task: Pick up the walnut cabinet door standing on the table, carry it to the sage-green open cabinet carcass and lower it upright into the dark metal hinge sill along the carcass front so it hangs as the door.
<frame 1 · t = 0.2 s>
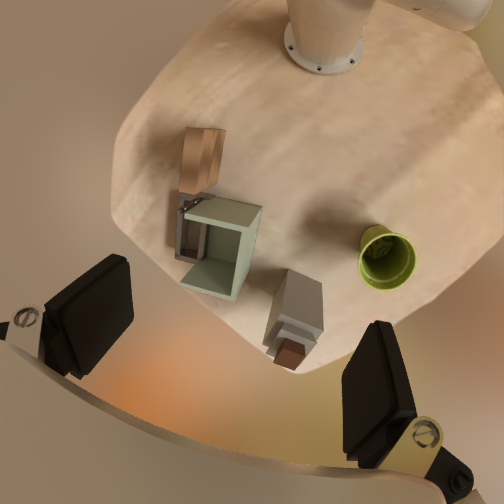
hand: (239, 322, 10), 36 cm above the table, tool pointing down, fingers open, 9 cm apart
plant pot: (375, 241, 43), on the table
carcass: (231, 233, 48), on the table
hinge sill: (197, 225, 49), on the table
door: (214, 155, 43), on the table
perfume bottle: (297, 289, 50), on the table
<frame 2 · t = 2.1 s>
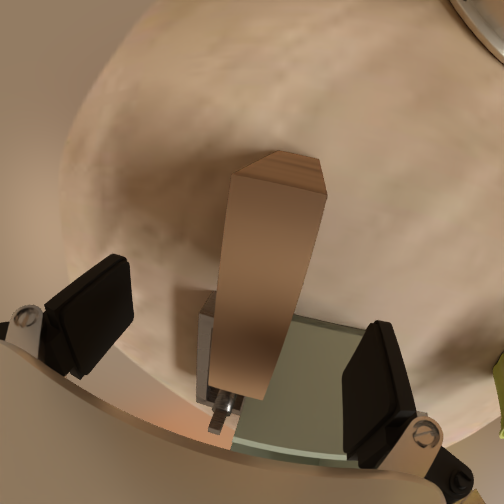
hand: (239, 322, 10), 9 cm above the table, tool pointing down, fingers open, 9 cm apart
carcass: (305, 369, 23), on the table
hinge sill: (236, 352, 24), on the table
door: (284, 222, 18), on the table
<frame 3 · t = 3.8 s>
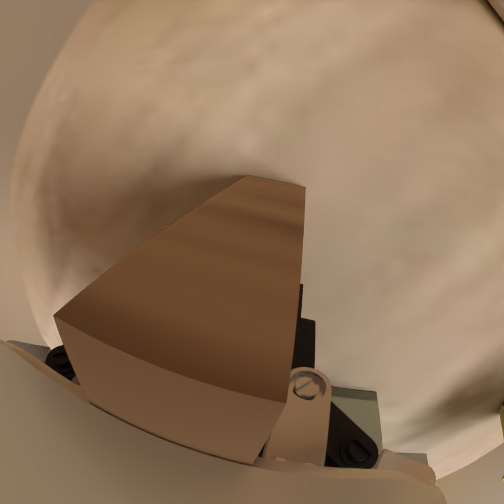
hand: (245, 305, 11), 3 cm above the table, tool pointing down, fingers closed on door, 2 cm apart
carcass: (290, 425, 18), on the table
door: (257, 273, 13), on the table, touching gripper
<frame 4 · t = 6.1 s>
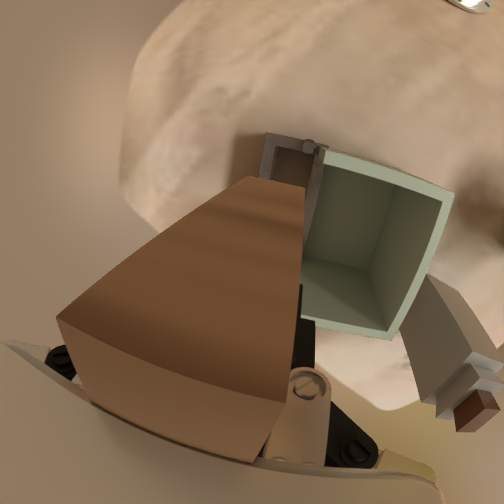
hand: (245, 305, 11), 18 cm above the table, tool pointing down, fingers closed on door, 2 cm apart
carcass: (348, 214, 26), on the table
hinge sill: (286, 199, 27), on the table
door: (257, 273, 13), point 15 cm above the table, touching gripper
perfume bottle: (427, 303, 28), on the table
when the fingers open (4 cm above the table, at t = 8.3 s): door drops 1 cm, on the table.
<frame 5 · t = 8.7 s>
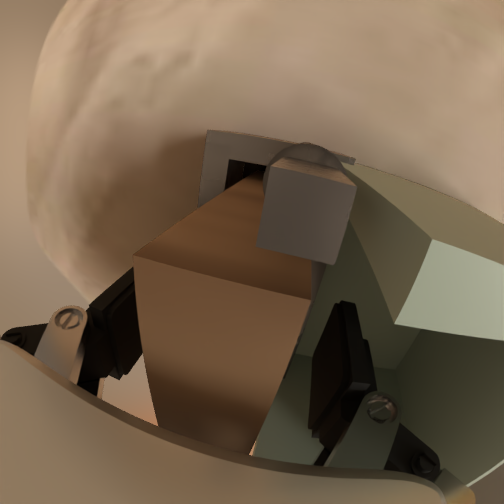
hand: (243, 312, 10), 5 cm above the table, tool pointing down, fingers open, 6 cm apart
carcass: (377, 287, 14), on the table
hinge sill: (262, 260, 14), on the table
door: (266, 259, 14), on the table
perfume bottle: (465, 388, 16), on the table
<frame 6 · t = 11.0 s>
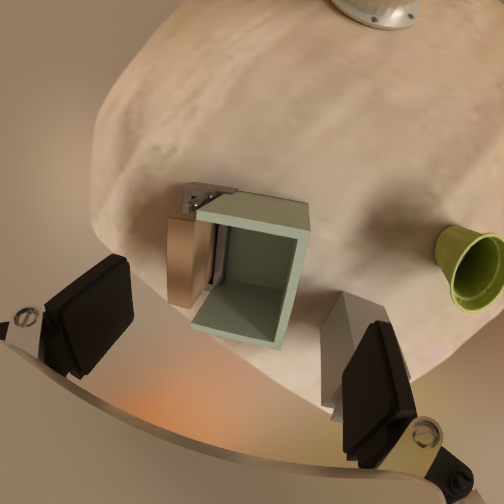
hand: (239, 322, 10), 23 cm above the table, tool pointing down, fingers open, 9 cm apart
plant pot: (450, 246, 28), on the table
carcass: (261, 244, 33), on the table
hinge sill: (210, 234, 34), on the table
door: (212, 233, 34), on the table
perfume bottle: (352, 317, 35), on the table
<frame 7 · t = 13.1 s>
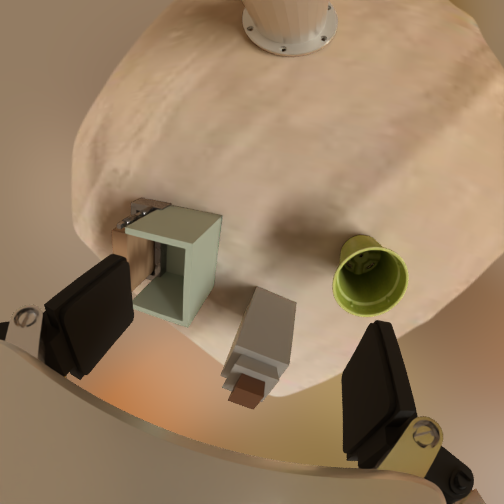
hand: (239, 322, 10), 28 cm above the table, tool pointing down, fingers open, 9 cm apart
plant pot: (359, 254, 37), on the table
carcass: (190, 246, 42), on the table
hinge sill: (154, 237, 42), on the table
door: (155, 237, 42), on the table
perfume bottle: (268, 309, 44), on the table
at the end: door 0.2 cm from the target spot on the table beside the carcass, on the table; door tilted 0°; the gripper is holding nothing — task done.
